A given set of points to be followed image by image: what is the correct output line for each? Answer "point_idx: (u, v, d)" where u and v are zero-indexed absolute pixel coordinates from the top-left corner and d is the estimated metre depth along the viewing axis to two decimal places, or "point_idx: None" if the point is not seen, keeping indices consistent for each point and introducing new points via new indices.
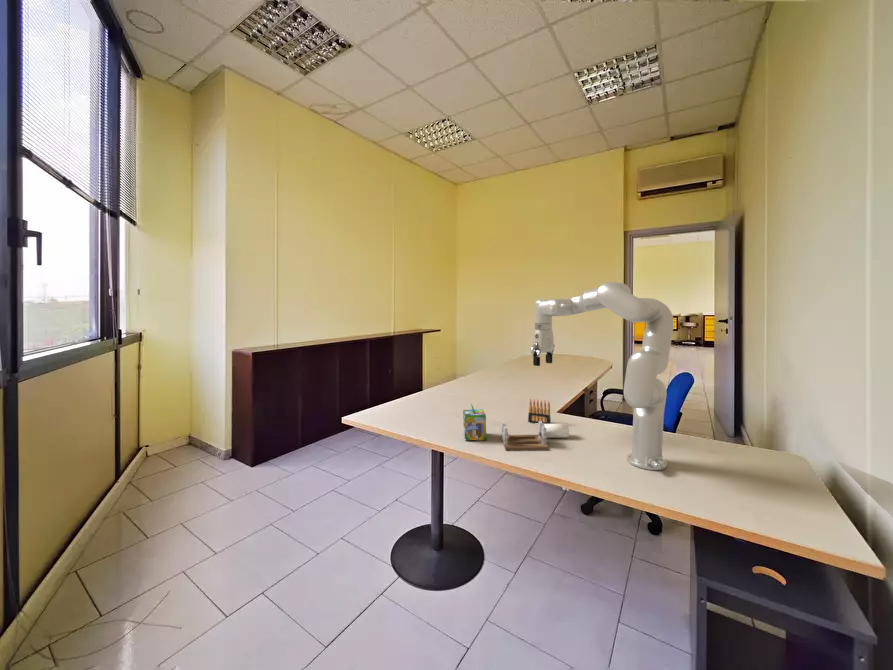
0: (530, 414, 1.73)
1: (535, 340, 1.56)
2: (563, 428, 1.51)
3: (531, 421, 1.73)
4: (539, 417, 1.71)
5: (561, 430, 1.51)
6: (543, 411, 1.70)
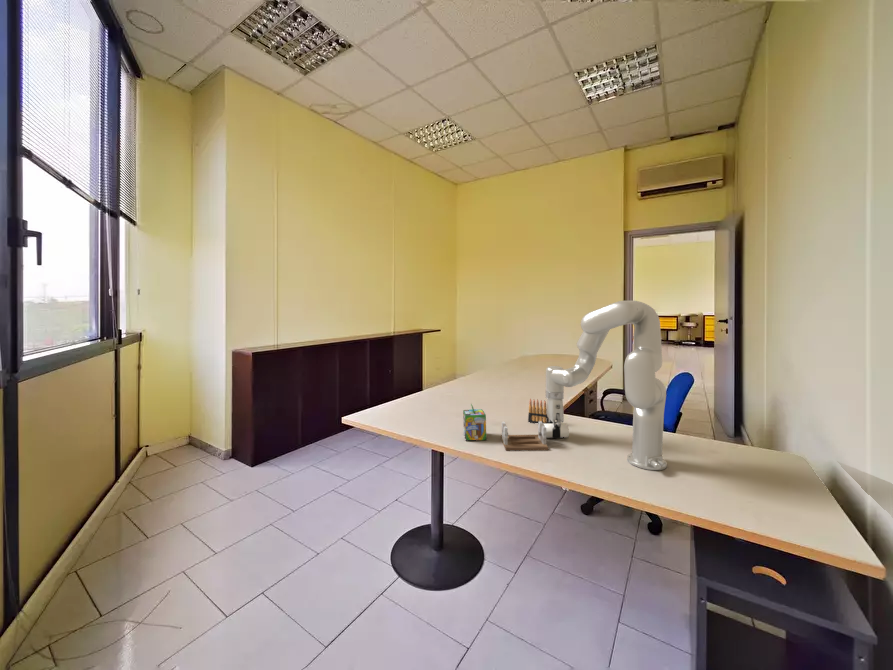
0: (530, 414, 1.73)
1: (556, 411, 1.48)
2: (563, 428, 1.51)
3: (531, 421, 1.73)
4: (539, 417, 1.71)
5: (561, 430, 1.51)
6: (543, 411, 1.70)
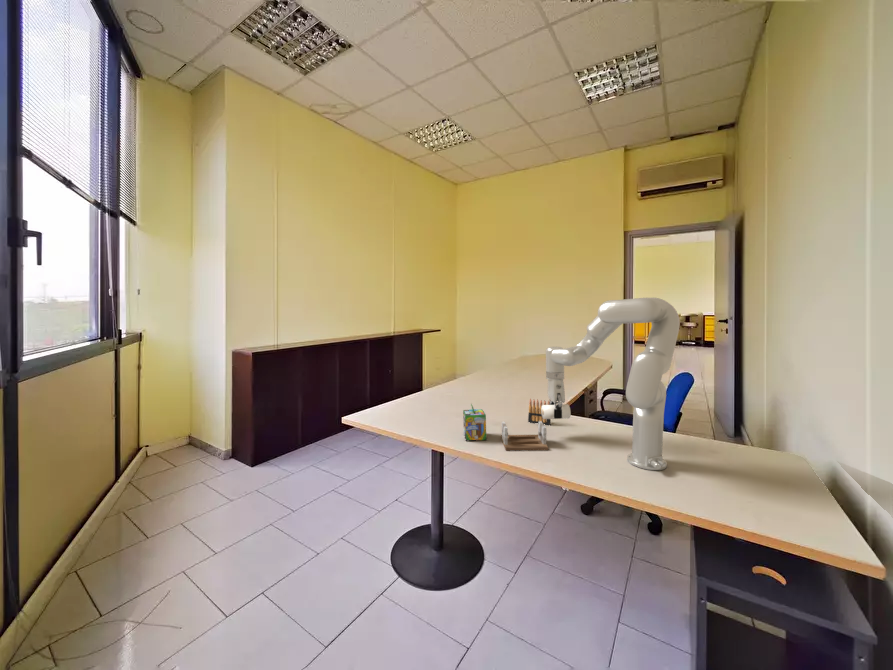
0: (530, 414, 1.73)
1: (557, 391, 1.47)
2: (564, 408, 1.50)
3: (531, 421, 1.73)
4: (539, 417, 1.71)
5: (563, 410, 1.50)
6: None
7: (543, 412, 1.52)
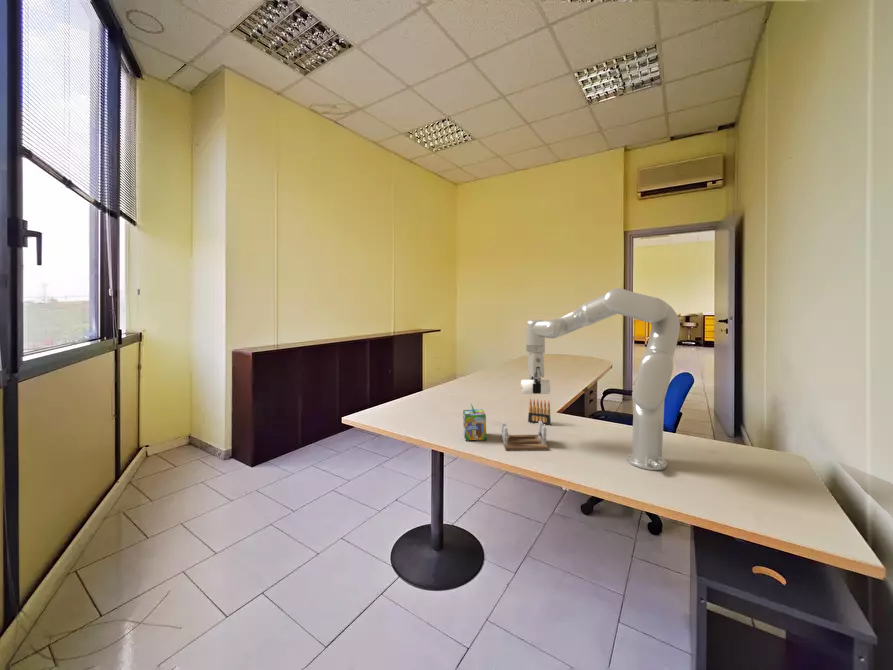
0: (530, 414, 1.73)
1: (536, 364, 1.42)
2: (544, 383, 1.45)
3: (531, 421, 1.73)
4: (539, 417, 1.71)
5: (542, 385, 1.45)
6: (543, 411, 1.70)
7: (522, 387, 1.47)
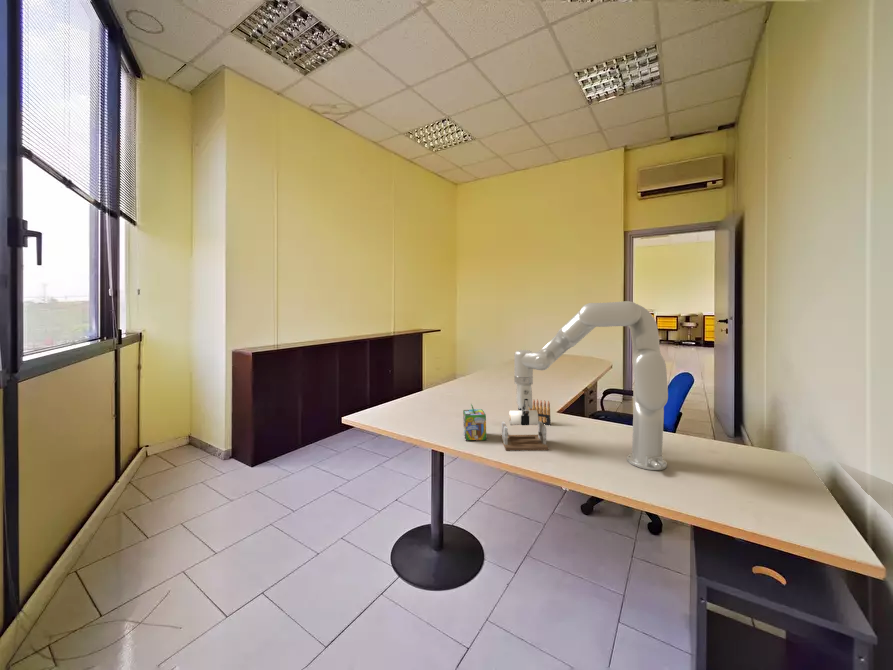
0: None
1: (524, 396, 1.41)
2: (532, 415, 1.44)
3: None
4: (539, 417, 1.71)
5: (530, 417, 1.43)
6: (543, 411, 1.70)
7: (510, 418, 1.45)
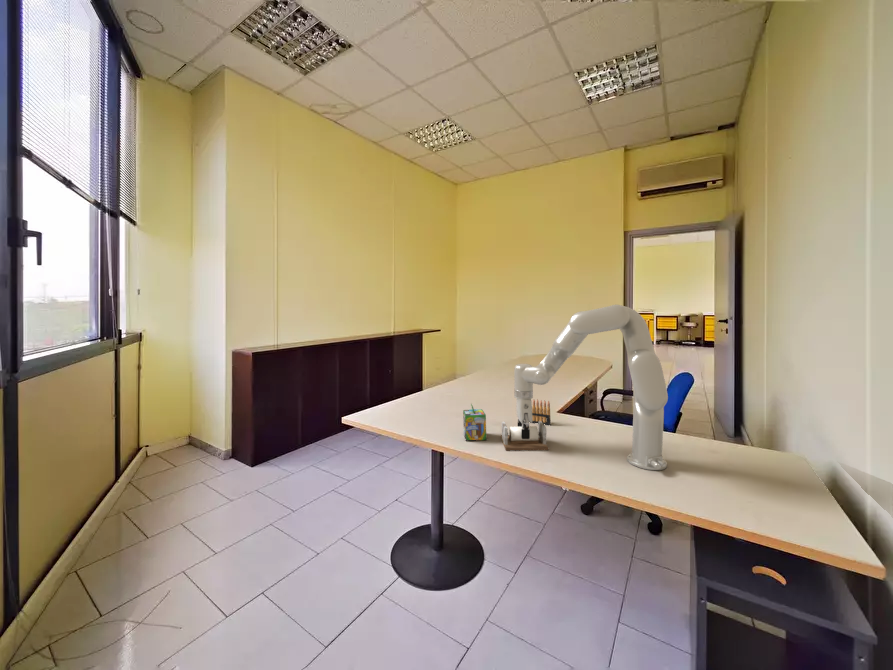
0: None
1: (524, 410, 1.41)
2: (532, 431, 1.44)
3: None
4: (539, 417, 1.71)
5: (530, 433, 1.44)
6: (543, 411, 1.70)
7: (510, 434, 1.46)
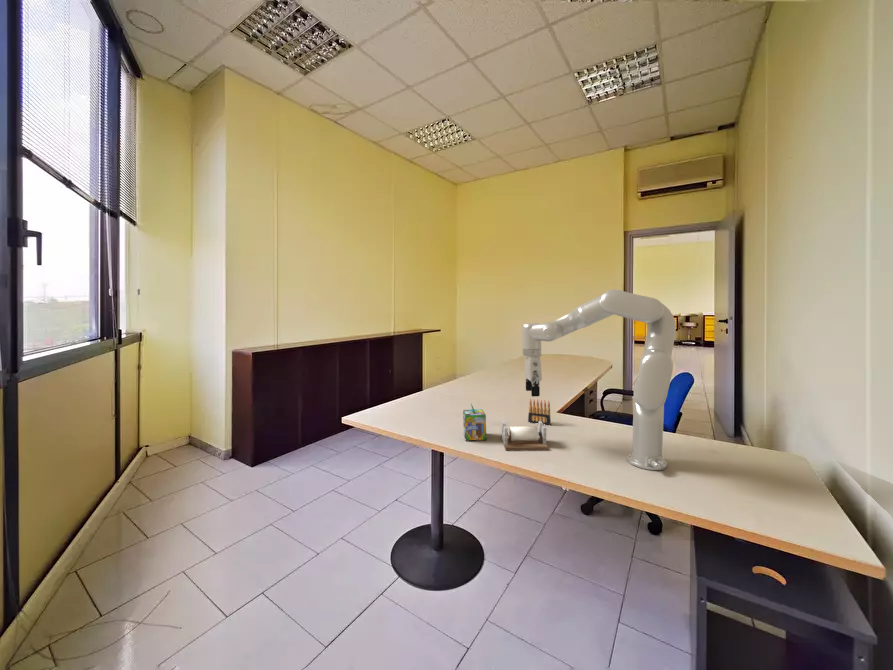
0: (530, 414, 1.73)
1: (533, 368, 1.41)
2: (532, 431, 1.44)
3: (531, 421, 1.73)
4: (539, 417, 1.71)
5: (530, 433, 1.44)
6: (543, 411, 1.70)
7: (510, 434, 1.46)
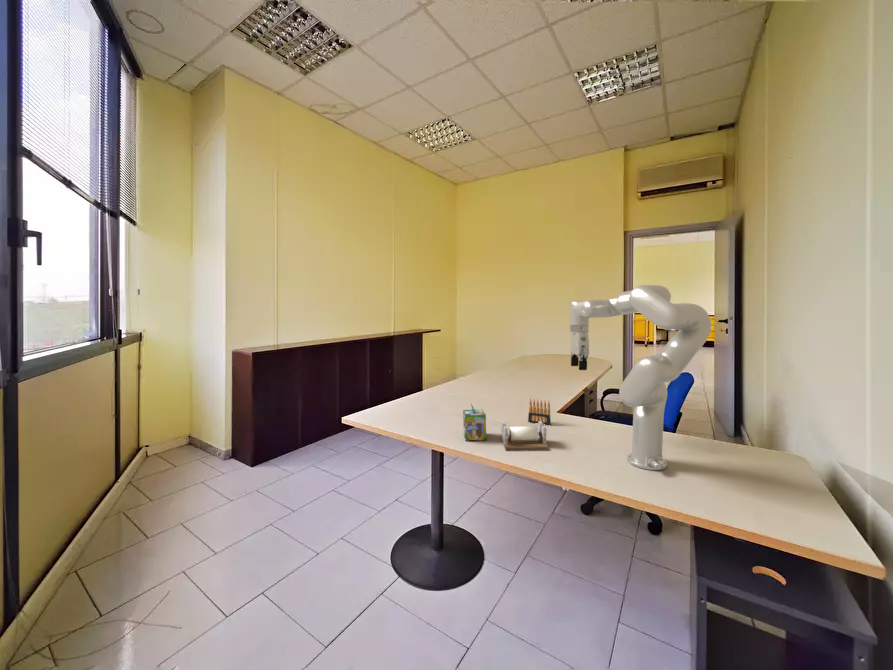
0: (530, 414, 1.73)
1: (581, 343, 1.48)
2: (532, 431, 1.44)
3: (531, 421, 1.73)
4: (539, 417, 1.71)
5: (530, 433, 1.44)
6: (543, 411, 1.70)
7: (510, 434, 1.46)
